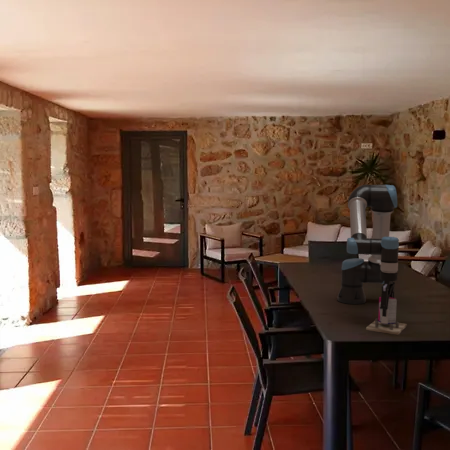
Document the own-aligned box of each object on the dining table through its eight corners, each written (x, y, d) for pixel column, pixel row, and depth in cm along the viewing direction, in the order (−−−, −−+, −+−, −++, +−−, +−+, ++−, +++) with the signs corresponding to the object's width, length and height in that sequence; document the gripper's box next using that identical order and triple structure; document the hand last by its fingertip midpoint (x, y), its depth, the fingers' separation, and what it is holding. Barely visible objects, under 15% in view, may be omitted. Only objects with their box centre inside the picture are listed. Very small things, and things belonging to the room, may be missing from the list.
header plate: (376, 321, 254) (376, 314, 254) (406, 326, 247) (406, 318, 246) (366, 329, 240) (366, 322, 240) (398, 334, 233) (398, 326, 233)
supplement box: (396, 323, 241) (397, 298, 240) (384, 324, 240) (385, 299, 239) (388, 320, 247) (389, 295, 246) (377, 321, 245) (378, 296, 244)
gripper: (386, 267, 252) (384, 314, 254) (374, 274, 234) (372, 325, 236) (402, 268, 248) (400, 317, 250) (391, 275, 230) (389, 327, 232)
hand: (386, 321), depth 243 cm, fingers closed on supplement box, 8 cm apart
